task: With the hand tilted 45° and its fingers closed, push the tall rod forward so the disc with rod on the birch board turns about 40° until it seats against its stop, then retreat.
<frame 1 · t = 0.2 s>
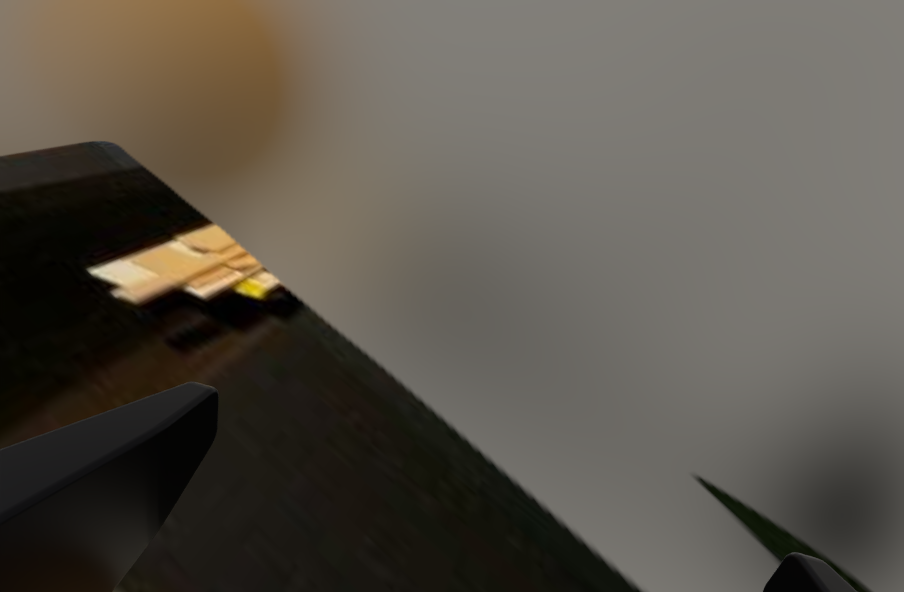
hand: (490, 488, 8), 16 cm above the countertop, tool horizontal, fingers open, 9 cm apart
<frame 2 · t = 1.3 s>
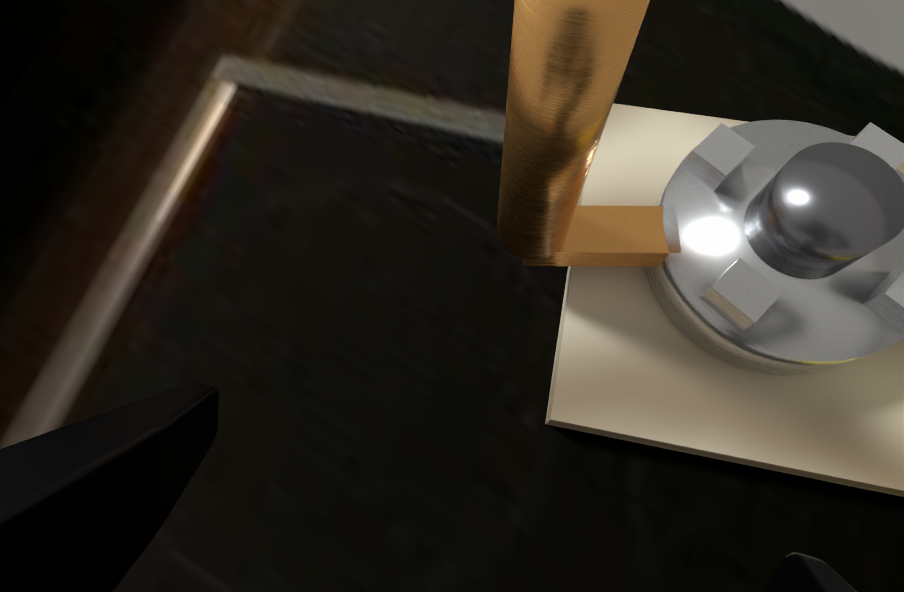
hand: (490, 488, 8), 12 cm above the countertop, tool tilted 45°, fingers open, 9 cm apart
flange board: (728, 285, 22), on the countertop
disc with rod: (770, 166, 15), point 8 cm above the countertop, hinge at 40.0°
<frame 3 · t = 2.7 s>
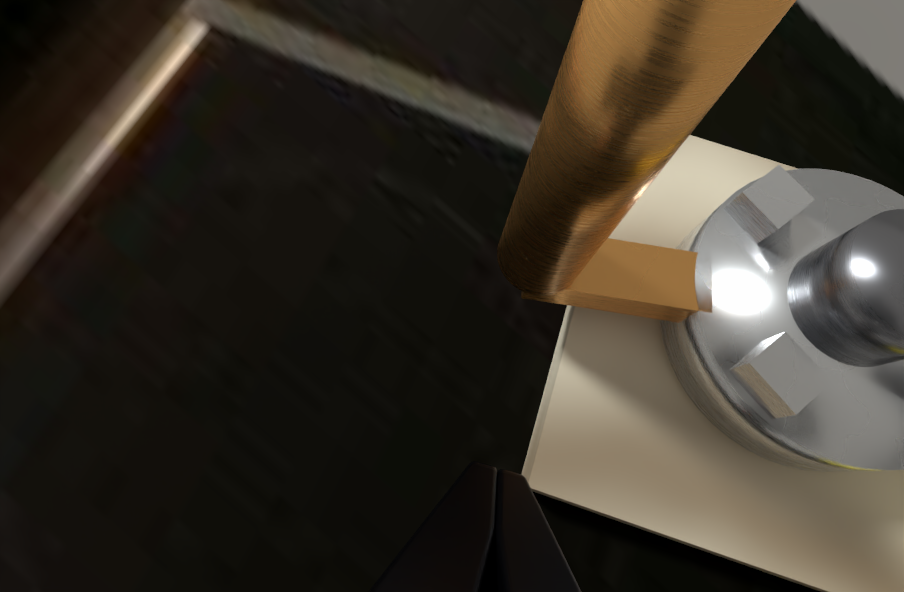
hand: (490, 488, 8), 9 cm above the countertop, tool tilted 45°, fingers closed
flange board: (744, 349, 19), on the countertop
disc with rod: (854, 231, 12), point 8 cm above the countertop, hinge at 40.0°
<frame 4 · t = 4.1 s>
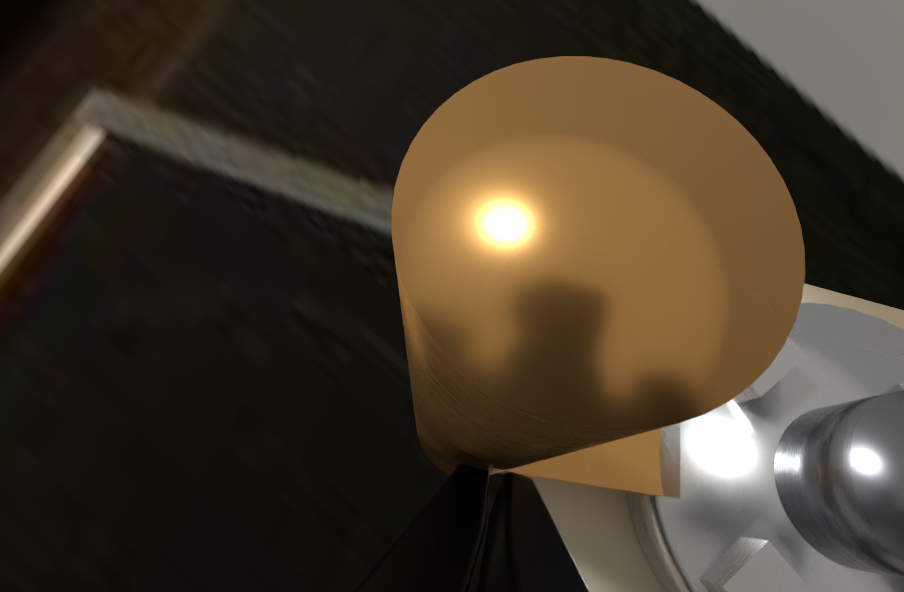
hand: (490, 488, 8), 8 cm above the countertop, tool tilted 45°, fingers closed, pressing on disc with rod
flange board: (730, 498, 16), on the countertop
disc with rod: (851, 455, 9), point 8 cm above the countertop, hinge at 37.2°, touching gripper
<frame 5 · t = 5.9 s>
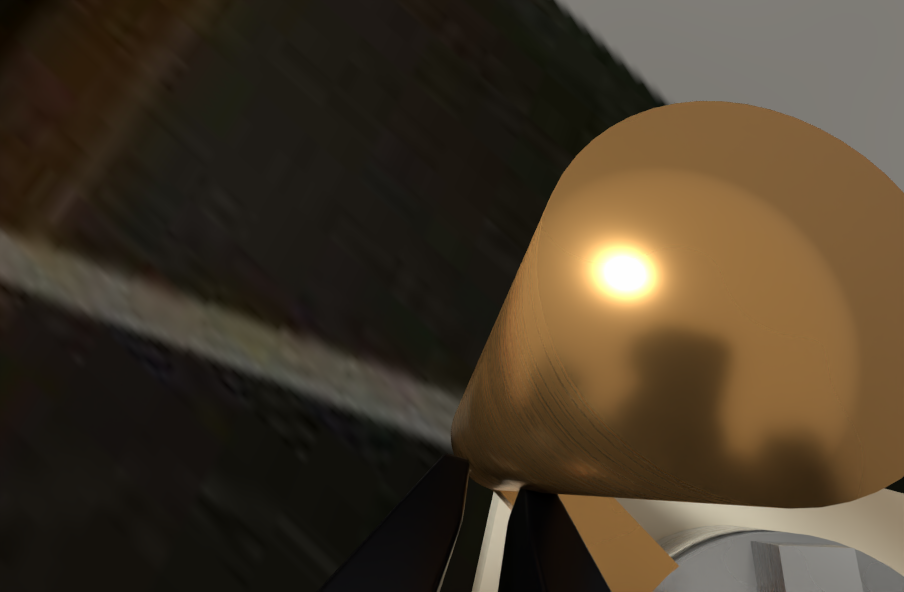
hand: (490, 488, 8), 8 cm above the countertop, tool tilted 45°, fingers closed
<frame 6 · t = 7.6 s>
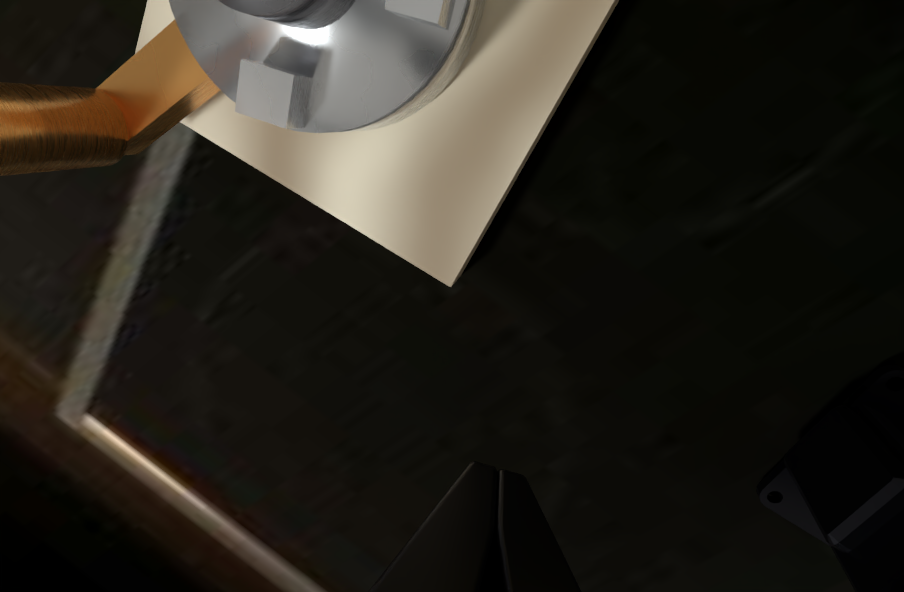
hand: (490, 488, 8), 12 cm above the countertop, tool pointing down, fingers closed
flange board: (374, 12, 18), on the countertop
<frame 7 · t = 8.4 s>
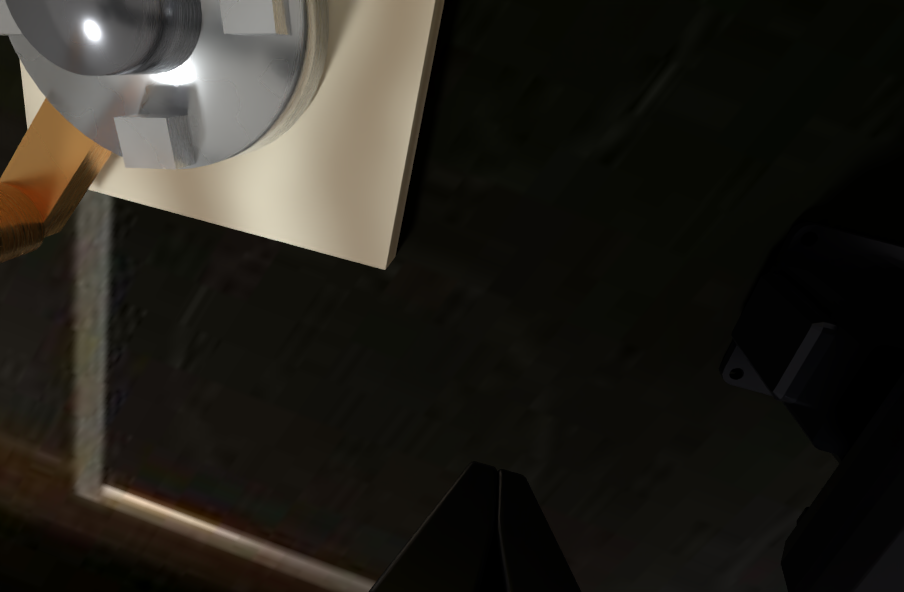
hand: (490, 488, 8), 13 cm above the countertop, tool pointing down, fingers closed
flange board: (235, 34, 19), on the countertop
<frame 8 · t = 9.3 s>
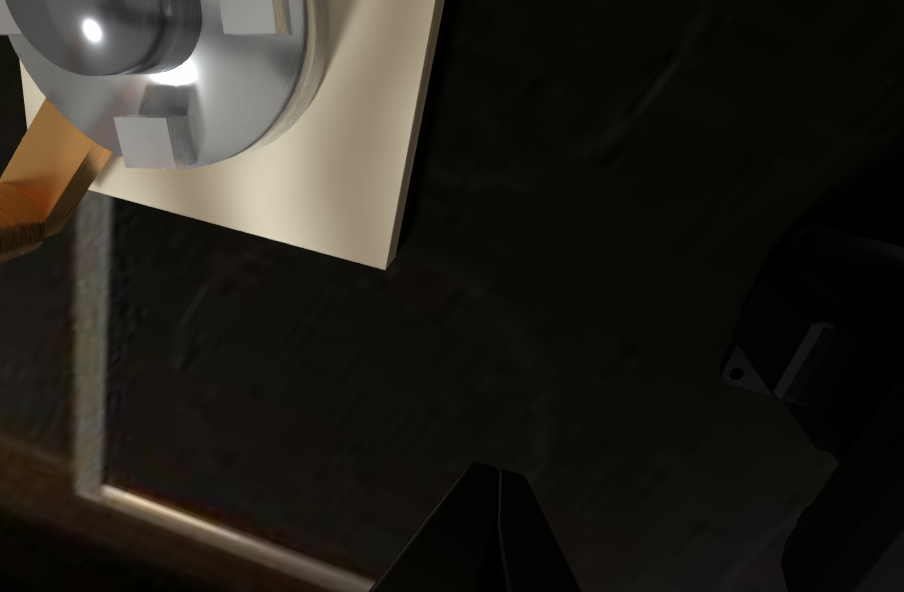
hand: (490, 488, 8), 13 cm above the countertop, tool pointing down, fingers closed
flange board: (235, 34, 19), on the countertop
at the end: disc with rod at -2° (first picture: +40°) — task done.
